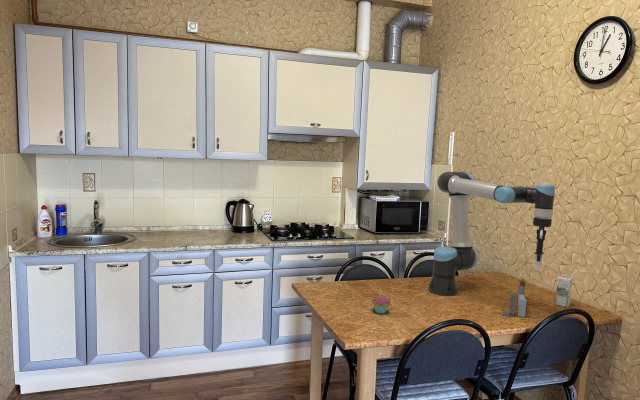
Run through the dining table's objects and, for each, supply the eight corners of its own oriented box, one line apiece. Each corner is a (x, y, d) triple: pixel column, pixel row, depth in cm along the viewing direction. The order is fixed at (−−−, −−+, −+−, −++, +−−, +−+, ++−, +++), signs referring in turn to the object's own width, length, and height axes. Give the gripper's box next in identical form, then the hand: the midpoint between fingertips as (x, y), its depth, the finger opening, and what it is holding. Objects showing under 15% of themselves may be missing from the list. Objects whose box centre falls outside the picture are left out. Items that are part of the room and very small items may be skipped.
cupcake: (385, 316, 189) (387, 290, 188) (367, 312, 194) (369, 286, 193) (392, 311, 197) (394, 285, 196) (375, 306, 201) (377, 282, 200)
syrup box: (569, 305, 217) (572, 277, 216) (567, 308, 213) (570, 279, 211) (557, 302, 221) (560, 275, 220) (554, 304, 217) (557, 277, 215)
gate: (516, 302, 216) (518, 285, 215) (523, 303, 215) (524, 286, 214) (518, 316, 197) (519, 297, 196) (525, 317, 196) (527, 298, 195)
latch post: (502, 314, 199) (504, 293, 198) (503, 311, 203) (504, 291, 202) (513, 317, 196) (515, 296, 195) (514, 313, 201) (516, 293, 200)
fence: (517, 303, 217) (519, 285, 216) (518, 296, 228) (520, 279, 227) (523, 304, 216) (524, 286, 215) (524, 297, 227) (525, 280, 226)
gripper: (533, 215, 205) (529, 263, 207) (533, 218, 193) (528, 269, 195) (551, 217, 201) (546, 266, 203) (552, 220, 190) (546, 272, 192)
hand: (537, 267), depth 199 cm, fingers closed
